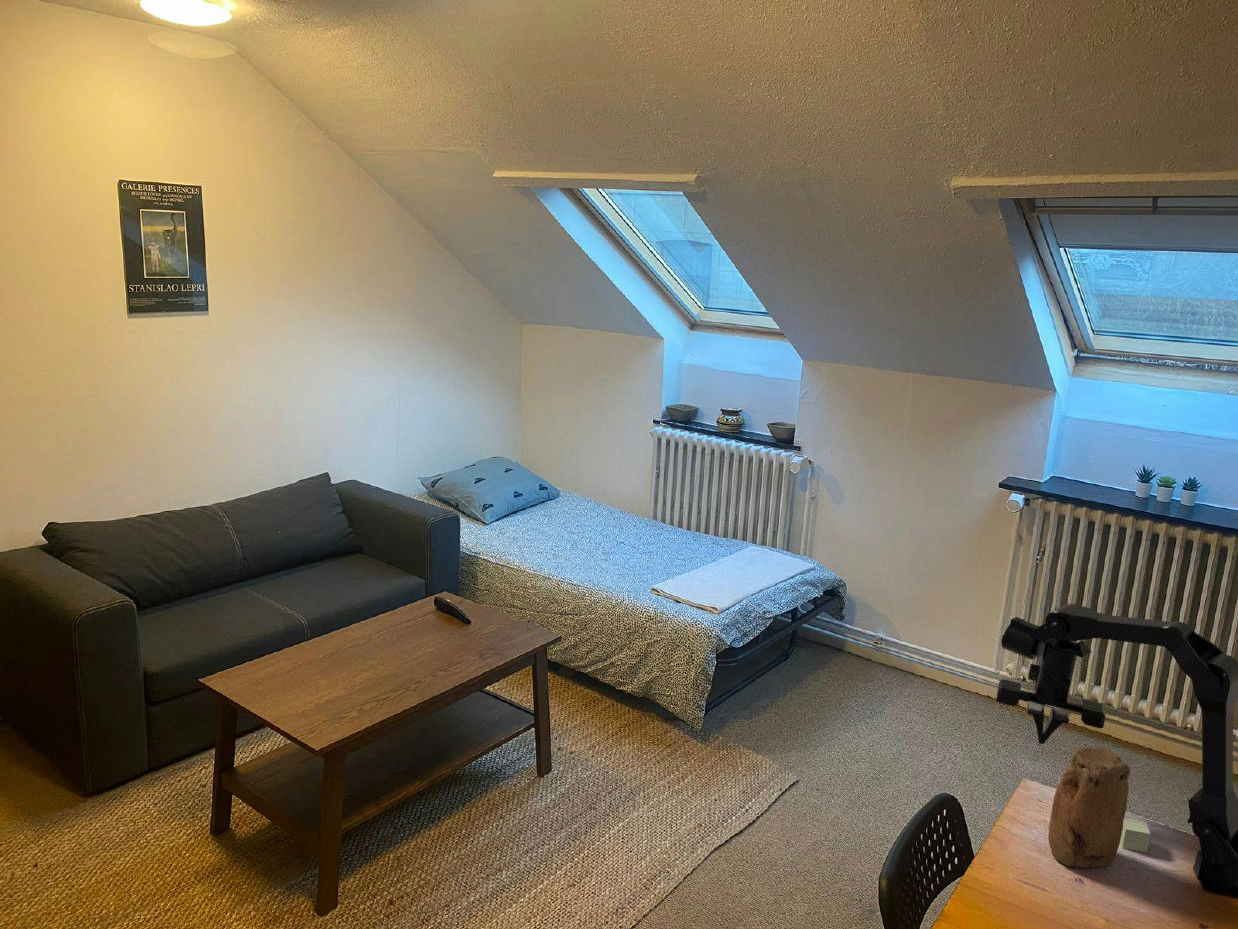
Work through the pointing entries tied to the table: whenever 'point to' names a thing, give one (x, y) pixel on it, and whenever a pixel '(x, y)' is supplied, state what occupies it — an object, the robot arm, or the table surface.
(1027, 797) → the table surface
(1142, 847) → the sage cube
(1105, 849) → the brown stone
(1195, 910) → the table surface
